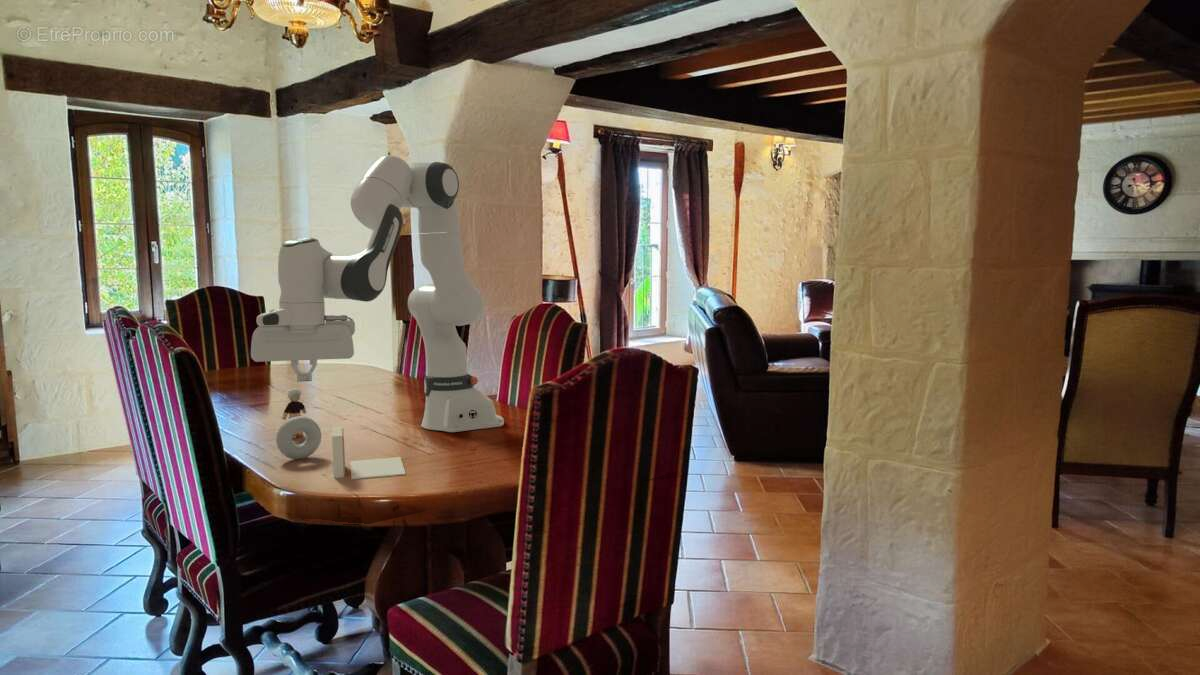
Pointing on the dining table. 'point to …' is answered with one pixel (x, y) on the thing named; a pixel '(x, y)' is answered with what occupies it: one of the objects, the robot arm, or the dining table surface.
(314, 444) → the donut
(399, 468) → the placemat
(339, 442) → the tile
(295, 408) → the grandmother figurine
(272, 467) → the dining table surface
